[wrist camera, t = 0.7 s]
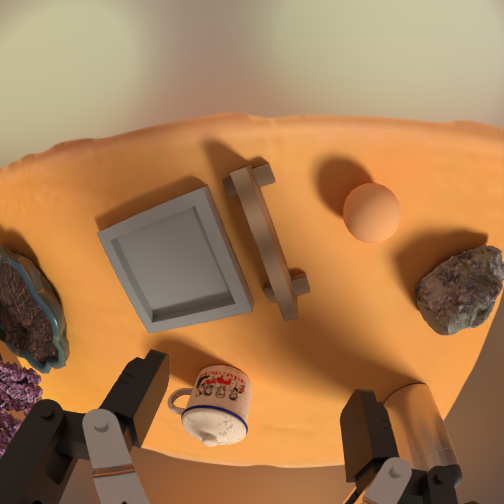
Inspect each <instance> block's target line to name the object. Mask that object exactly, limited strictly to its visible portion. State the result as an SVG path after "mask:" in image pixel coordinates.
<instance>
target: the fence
mask: <svg viewBox="0 0 504 504" xmlns="http://www.w3.org/2000/svg"><path fill="white" fill-rule="evenodd" d="M230 175H231V176H230V177H227V178H224V179H223V183H224V186H225V188H226V191H227V194H228V196H229V198H230V197H232V196H235V195H238V196H239V199H240V202H241V205H242V207H243V210H244V213H245V215H246V218H247V221H248V223H249V226H250V229H251V232H252V234H253V237H254V240H255V242H256V245H257V248H258V250H259V253H260V256H261V259H262V261H263V264H264V267H265V270H266V272H267V275H268V278H269V280H270V282H269V283H266V284H264V291H265V294H266V296H267V299H268V302H269V303H271V302H275V301H277V302H278V305H279V308H280V311H281V313H282V316H283V319H284V321H287V320H291V319H295V318H298V308H297V296H298V295H301V294H305V293H308V292H310V287H309V283H308V280H307V277H306V274H305V273H302V274H298V275H295V276H290V273H289V270H288V267H287V264H286V261H285V258H284V255H283V252H282V249H281V246H280V243H279V240H278V237H277V234H276V231H275V228H274V226H273V223H272V220H271V217H270V214H269V211H268V208H267V205H266V203H265V200H264V197H263V194H262V191H261V189H260V187H262V186H265V185H268V184H271V183H274V182H275V178H274V176H273V173H272V170H271V167H270V164H269V163H267V164H264V165H261V166H259V167H256V168H253V166H252V164H250V165H247V166H244V167H241V168H238V169H237V170H235V171H233V172H231V173H230Z"/></svg>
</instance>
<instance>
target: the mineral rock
mask: <svg viewBox="0 0 504 504" xmlns="http://www.w3.org/2000/svg"><path fill="white" fill-rule="evenodd" d="M501 253H502V251H501V250H499V249H498V248H496V247H494V246H486V245H482V246H479V247H477V248H475V249H473V250H472V249H471V250H468V251H467V252H466V251H463V252H462V253H461V254H460V255H457V256H451V257H450V259H449V260H447V261H445V262H442V263H440V264H439V265H438V266H437V267H436V268H435V270H434V271H432V272H430V273H429V274H428V275H427V276H425V277H424V278H422V280H421V281H420V283H419V284H418V285H417V286H416V293H417V305H418V308H419V311H420V313H421V315H422V317H423V319H424V320H425V321H426V322H427V323H428V325H429V326H430V327H431V328H432V329H433V330H434V331H435V332H436V333H438V334H440V335H452V334H455V333H457V332H458V331H460V330H462V329H465V328H476V327H477V326H479V325H480V324H482V323H483V322H484V321H486V320H487V318H488V316H489V314H490V313H491V312H492V310H493V307H494V304H495V300H496V298H497V296H498V295H499V294H500V292H501V290H502V287H503V285H502V281H503V280H504V263H503V261H502V255H501Z"/></svg>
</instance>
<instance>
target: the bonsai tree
mask: <svg viewBox="0 0 504 504" xmlns="http://www.w3.org/2000/svg"><path fill="white" fill-rule="evenodd" d="M66 327H67V325H66V322H65V317H64V313H63V310H62V307H61V304H60V303H59V301H58V299H57V297H56V295H55V293H54V291H53V289H52V287H51V285H50V283H49V282H48V281H47V280H46V278H45V277H44V276H43V274H42V273H41V272H40V270H39V269H38V268H37V266H36V265H35V264H33V262H32V261H31V260H30V259H28V258H26V257H25V256H23V255H22V254H20V253H15V252H11V251H10V250H9V249H8V248H7V247H6V245H5V244H1V243H0V340H1V341H3V342H4V343H5V344H6V345H7V347H8V348H9V350H10V351H11V352H13V353H14V354H15V355H16V356H18V357H21V358H25V359H26V360H27V361H28V362H29V364H30V365H31V366H32V367H34V368H35V369H37V370H38V371H40V372H41V373H49V372H50V369H51V367H53V368H55V369H59V368H62V367H64V366H66V363H65V362H66V360H67V359H68V357H69V354H70V353H69V342H68V340H67V338H66ZM0 361H1V362H0V428H3V429H4V430H5V431H6V432H5V431H2V430H0V459H1V457H2V455H3V454H4V452H5V450H6V448H7V447H8V445H9V443H10V442H11V440H10V438H11V439H12V438H13V437H14V435H15V434H16V432H17V430H18V429H19V427H20V426H21V424H22V421H21V420H18V419H14V417H13V416H12V415H11V414H10V415H8V413H7V412H6V410H8V411H9V410H13V409H15V411H17V412H18V411H20V410H24V413H25V416H27V415H28V413H29V412H30V410H31V409H32V407H33V406H34V405H33V403H37V399H39V397H41V395H42V393H43V392H42V391H43V390H42V388H41V387H40V386H38V384H39V383H40V382H41V377H40V375H37V372H36V370H34V371H33V369H32V368H30V369H29V371H28V370H27V369H26V368H25V367H24V368H23V369H22V370H21V369H20V366H19V365H17V364H16V363H14V364H13V365H11V364H10V363H9V362H7V364H5V365H4V363H3V361H2V357H1V354H0ZM7 435H8V436H9V437H10V438H9V437H7Z"/></svg>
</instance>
